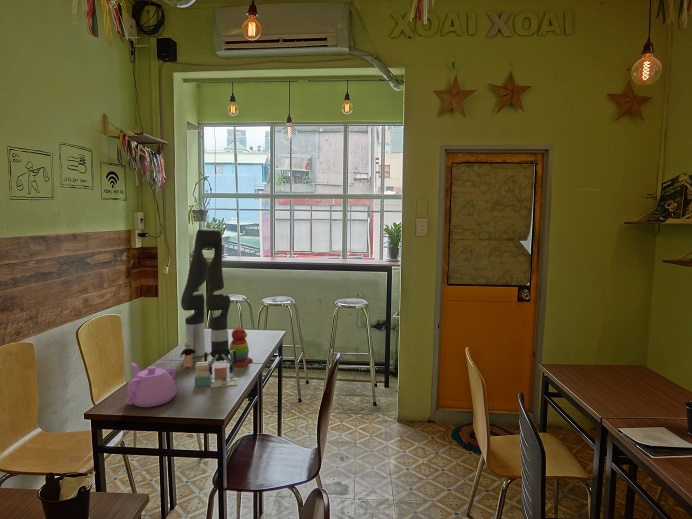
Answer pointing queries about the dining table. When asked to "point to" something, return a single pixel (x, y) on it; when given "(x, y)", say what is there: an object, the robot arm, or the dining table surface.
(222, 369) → the red block
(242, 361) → the stacking bear
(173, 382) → the teapot
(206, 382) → the teal base brick
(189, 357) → the grandmother figurine
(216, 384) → the page
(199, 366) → the maple block
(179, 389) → the dining table surface
